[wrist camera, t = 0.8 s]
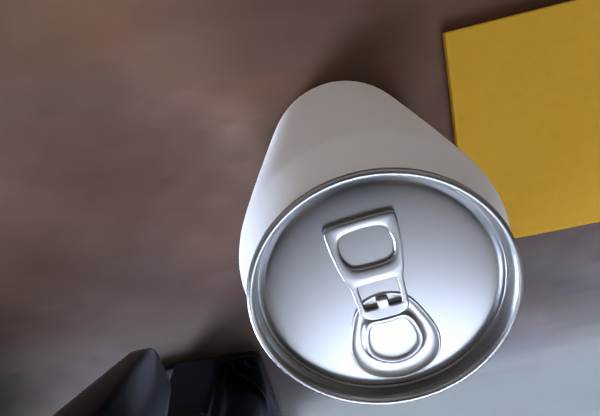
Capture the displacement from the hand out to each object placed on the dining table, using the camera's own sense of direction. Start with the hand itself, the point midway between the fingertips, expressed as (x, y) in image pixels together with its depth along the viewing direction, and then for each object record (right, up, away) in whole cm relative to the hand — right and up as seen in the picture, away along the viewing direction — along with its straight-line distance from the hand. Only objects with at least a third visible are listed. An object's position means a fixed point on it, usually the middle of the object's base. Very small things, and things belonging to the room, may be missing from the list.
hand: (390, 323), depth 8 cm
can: (0, +5, +12) cm, 13 cm away
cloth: (+11, +6, +11) cm, 17 cm away
